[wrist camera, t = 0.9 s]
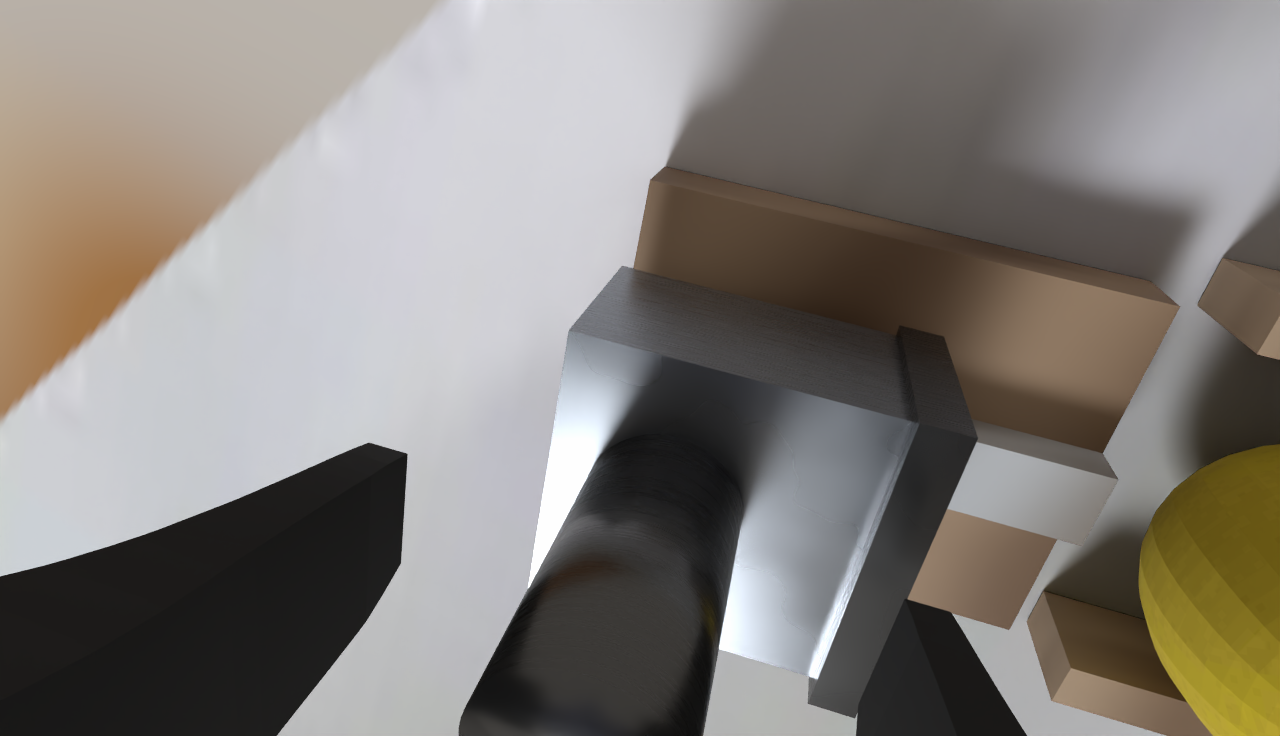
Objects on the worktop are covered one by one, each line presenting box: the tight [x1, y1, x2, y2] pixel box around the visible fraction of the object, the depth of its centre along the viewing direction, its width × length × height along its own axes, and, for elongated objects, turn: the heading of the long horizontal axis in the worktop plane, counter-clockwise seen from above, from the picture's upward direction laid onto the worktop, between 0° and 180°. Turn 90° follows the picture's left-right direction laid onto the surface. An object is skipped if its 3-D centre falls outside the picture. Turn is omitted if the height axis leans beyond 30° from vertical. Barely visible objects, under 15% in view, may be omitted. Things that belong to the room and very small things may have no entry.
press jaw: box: [459, 266, 978, 736], centre depth 12 cm, size 6×6×8 cm
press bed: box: [633, 167, 1180, 630], centre depth 17 cm, size 10×8×2 cm
